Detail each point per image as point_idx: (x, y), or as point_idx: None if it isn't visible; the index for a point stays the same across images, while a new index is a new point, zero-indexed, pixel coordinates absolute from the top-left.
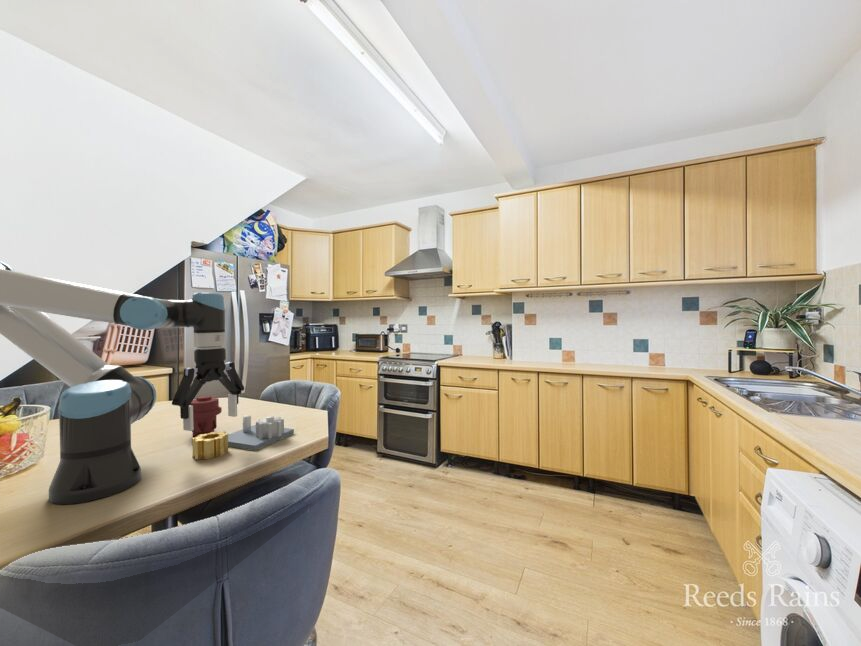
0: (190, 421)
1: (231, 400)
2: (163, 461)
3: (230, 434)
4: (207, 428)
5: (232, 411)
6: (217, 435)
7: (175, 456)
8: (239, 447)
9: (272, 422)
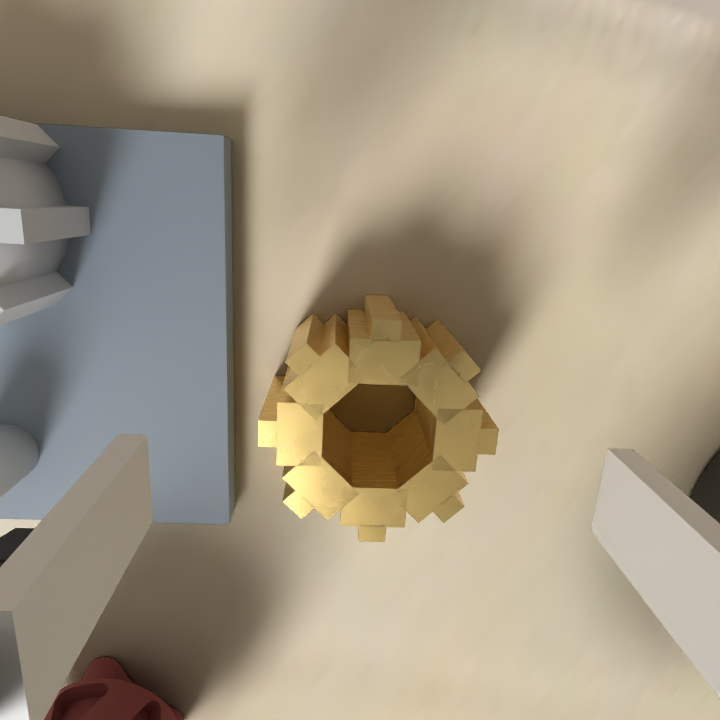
0: (687, 496)
1: (70, 601)
2: (524, 537)
3: None
4: (126, 700)
5: (129, 498)
6: (322, 427)
7: (453, 543)
8: (232, 294)
9: None
